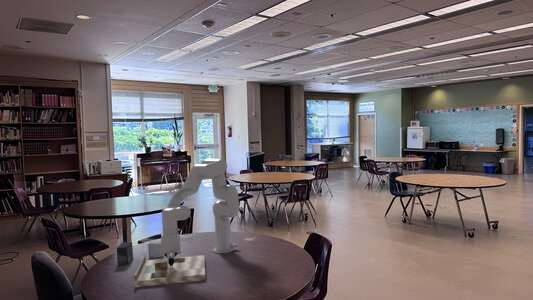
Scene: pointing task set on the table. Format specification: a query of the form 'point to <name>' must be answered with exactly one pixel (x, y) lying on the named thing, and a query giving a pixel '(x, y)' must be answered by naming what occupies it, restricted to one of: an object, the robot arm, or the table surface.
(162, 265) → the walnut block
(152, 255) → the medicine box
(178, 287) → the table surface
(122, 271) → the table surface
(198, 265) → the box
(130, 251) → the small box
